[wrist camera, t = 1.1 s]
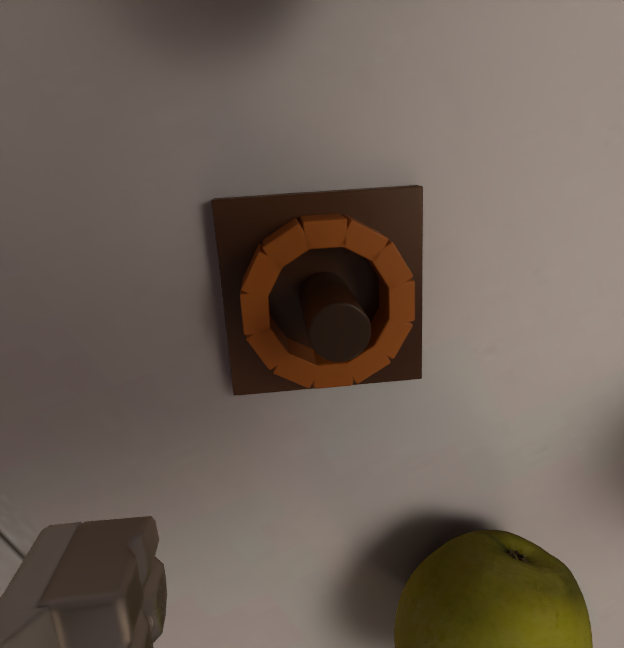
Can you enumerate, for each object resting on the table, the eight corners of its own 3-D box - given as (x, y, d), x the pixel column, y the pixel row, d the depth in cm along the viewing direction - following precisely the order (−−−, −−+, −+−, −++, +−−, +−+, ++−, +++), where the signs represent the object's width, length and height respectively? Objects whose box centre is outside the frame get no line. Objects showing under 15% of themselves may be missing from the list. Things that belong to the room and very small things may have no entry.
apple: (354, 624, 27) (388, 804, 20) (416, 476, 25) (483, 616, 17) (488, 648, 29) (569, 826, 21) (560, 510, 26) (680, 654, 19)
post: (213, 198, 20) (195, 212, 15) (417, 184, 21) (468, 194, 16) (234, 388, 23) (225, 457, 18) (416, 371, 23) (461, 434, 18)
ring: (235, 220, 20) (232, 226, 18) (402, 208, 20) (415, 213, 19) (251, 376, 22) (250, 395, 20) (403, 363, 22) (415, 380, 21)
